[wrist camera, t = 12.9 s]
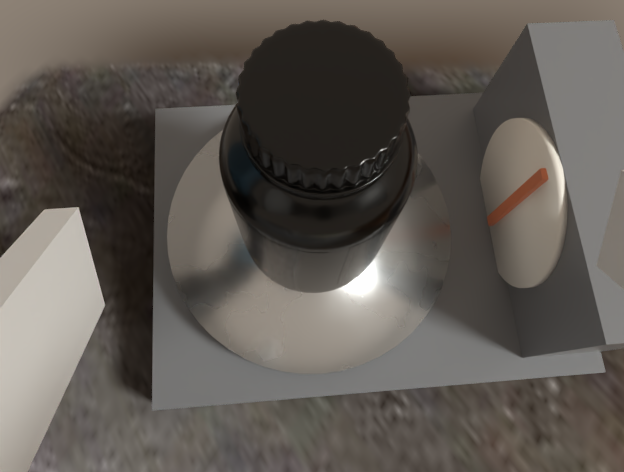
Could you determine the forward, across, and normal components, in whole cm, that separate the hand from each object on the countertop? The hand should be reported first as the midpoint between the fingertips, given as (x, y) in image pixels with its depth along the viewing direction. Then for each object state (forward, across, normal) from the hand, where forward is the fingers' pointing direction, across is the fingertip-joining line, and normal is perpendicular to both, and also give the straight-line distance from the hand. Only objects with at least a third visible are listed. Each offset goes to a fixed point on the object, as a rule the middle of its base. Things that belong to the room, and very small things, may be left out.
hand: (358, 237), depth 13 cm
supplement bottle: (+12, 0, -6) cm, 13 cm away
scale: (+15, +3, -8) cm, 17 cm away
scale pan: (+12, 0, -6) cm, 14 cm away
